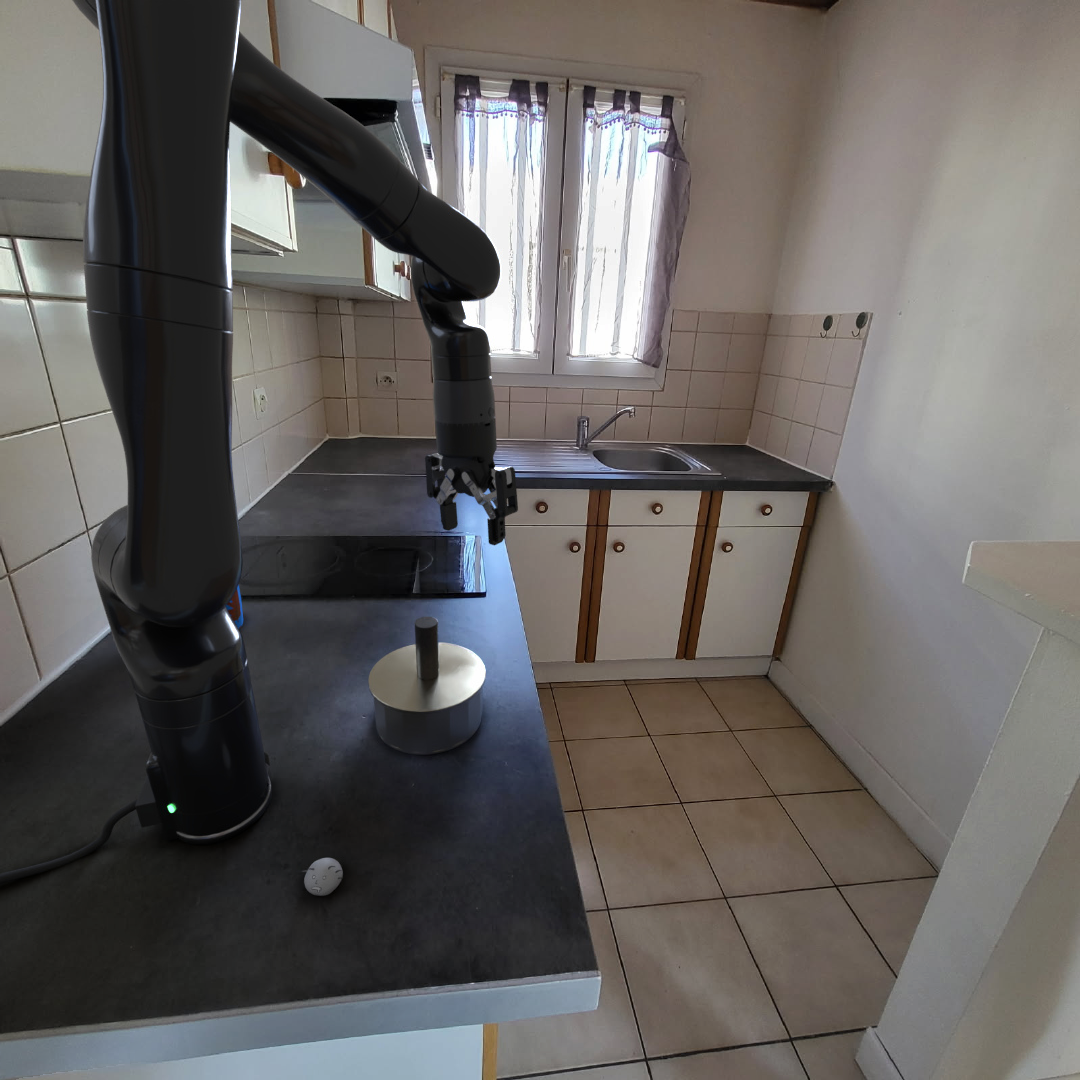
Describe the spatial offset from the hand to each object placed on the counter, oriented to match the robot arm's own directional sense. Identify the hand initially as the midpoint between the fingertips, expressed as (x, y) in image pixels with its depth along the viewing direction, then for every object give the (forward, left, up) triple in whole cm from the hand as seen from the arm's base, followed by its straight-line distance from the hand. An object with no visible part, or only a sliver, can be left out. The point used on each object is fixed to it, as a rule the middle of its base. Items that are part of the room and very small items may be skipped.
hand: (472, 535), depth 75 cm
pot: (-8, -9, -22) cm, 25 cm away
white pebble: (-21, -29, -22) cm, 42 cm away
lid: (-8, -9, -15) cm, 19 cm away
